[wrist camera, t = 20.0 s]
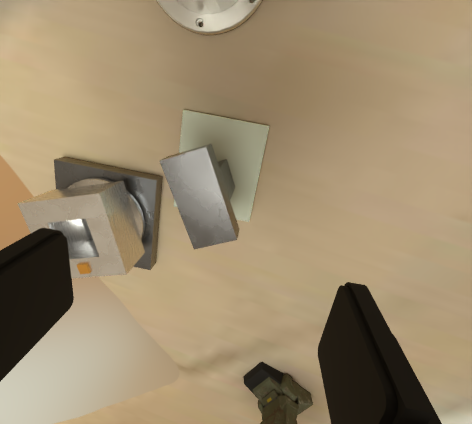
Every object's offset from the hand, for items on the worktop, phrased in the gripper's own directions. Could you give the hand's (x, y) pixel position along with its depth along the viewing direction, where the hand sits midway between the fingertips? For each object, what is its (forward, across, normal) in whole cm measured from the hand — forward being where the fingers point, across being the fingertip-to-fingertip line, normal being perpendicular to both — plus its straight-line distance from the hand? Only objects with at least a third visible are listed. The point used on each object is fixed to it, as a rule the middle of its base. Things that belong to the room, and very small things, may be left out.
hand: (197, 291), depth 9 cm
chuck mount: (+26, +17, +11) cm, 33 cm away
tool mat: (+26, +3, +2) cm, 26 cm away
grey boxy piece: (+23, +17, +11) cm, 31 cm away
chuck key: (+25, +3, +3) cm, 26 cm away
